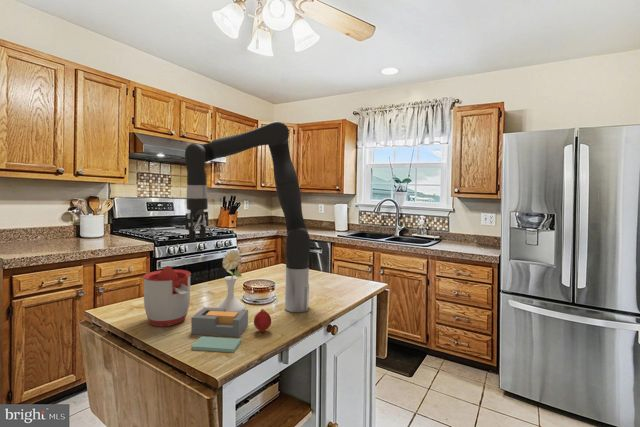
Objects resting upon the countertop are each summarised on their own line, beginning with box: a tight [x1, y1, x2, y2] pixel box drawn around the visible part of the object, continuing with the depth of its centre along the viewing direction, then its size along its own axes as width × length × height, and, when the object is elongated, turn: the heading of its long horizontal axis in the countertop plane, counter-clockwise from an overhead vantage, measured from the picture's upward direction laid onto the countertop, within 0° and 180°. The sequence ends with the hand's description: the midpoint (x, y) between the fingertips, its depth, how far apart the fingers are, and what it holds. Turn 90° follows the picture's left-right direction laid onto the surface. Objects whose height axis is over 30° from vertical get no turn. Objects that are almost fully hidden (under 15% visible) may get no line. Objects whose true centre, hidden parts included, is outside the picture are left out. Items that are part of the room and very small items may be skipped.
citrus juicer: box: [142, 265, 192, 328], centre depth 121 cm, size 16×17×20 cm
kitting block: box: [190, 306, 249, 338], centre depth 116 cm, size 16×10×6 cm, turn 85°
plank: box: [206, 311, 238, 324], centre depth 115 cm, size 10×4×2 cm, turn 85°
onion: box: [253, 308, 272, 333], centre depth 114 cm, size 6×6×8 cm
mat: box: [190, 335, 242, 353], centre depth 104 cm, size 13×7×1 cm, turn 85°
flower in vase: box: [215, 249, 246, 314], centre depth 130 cm, size 13×11×25 cm
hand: (197, 239), depth 131 cm, fingers open, 8 cm apart
